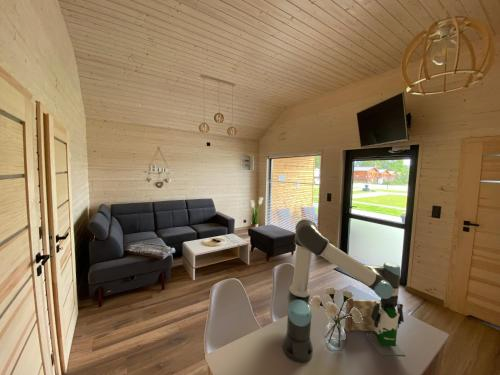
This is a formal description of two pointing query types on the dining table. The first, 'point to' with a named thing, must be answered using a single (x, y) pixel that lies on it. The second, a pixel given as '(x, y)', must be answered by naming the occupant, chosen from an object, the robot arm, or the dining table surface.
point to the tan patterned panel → (348, 309)
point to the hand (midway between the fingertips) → (385, 332)
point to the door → (364, 315)
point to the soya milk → (388, 326)
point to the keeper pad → (384, 347)
